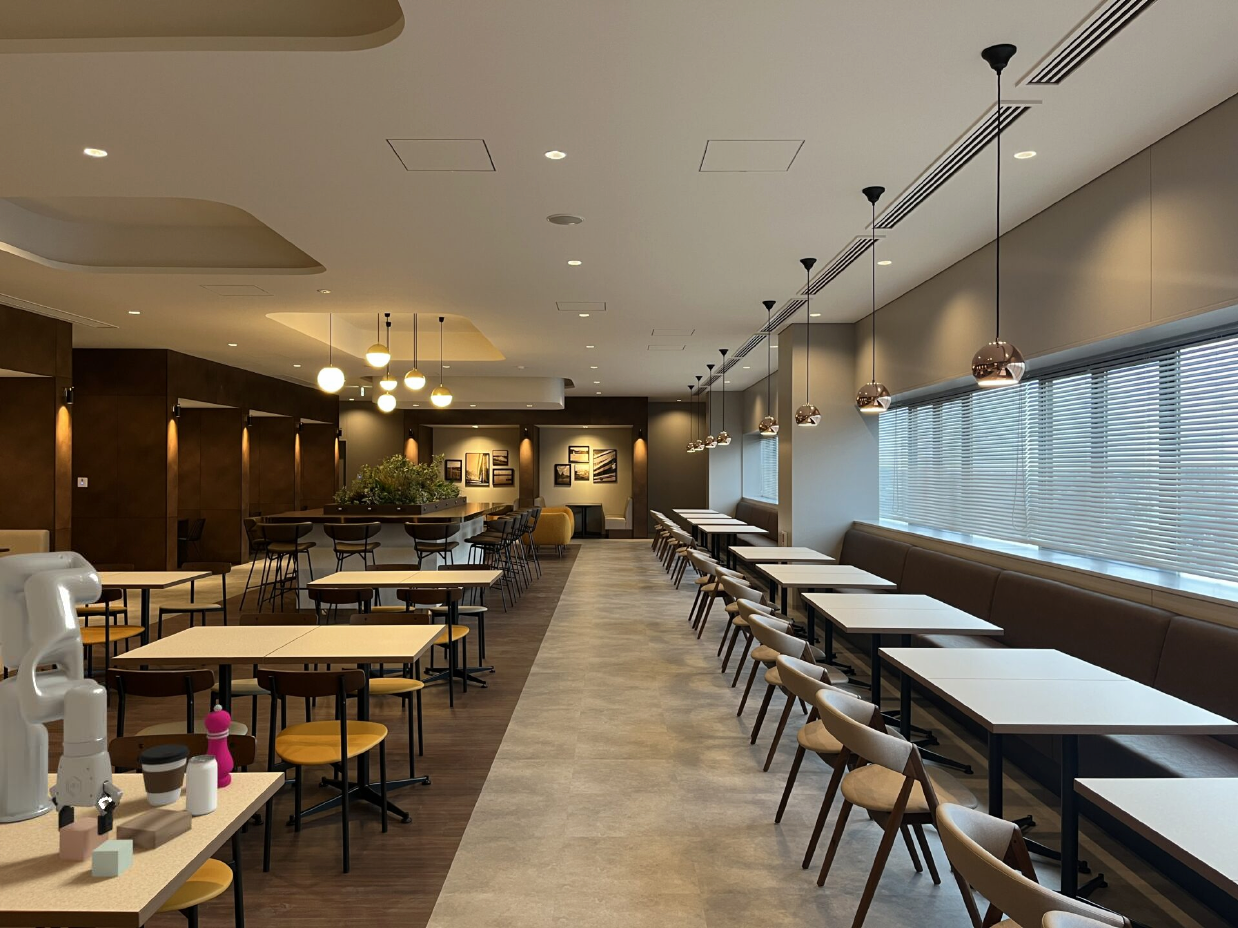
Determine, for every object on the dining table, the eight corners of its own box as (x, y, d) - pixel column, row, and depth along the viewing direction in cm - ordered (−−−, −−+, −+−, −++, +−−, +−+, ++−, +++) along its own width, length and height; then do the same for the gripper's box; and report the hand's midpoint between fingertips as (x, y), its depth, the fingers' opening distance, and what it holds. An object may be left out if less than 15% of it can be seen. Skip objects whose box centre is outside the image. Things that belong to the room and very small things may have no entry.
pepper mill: (214, 778, 212) (215, 700, 212) (239, 780, 211) (239, 701, 211) (194, 788, 205) (195, 707, 205) (220, 790, 204) (220, 709, 204)
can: (204, 817, 188) (204, 764, 188) (179, 814, 189) (179, 762, 189) (223, 806, 194) (223, 754, 194) (199, 804, 195) (199, 753, 195)
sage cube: (91, 877, 160) (92, 851, 160) (107, 865, 165) (107, 839, 165) (118, 876, 160) (118, 850, 160) (132, 864, 165) (132, 839, 165)
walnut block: (116, 845, 174) (116, 826, 174) (153, 825, 184) (154, 807, 184) (155, 850, 172) (155, 831, 172) (191, 830, 181) (191, 812, 181)
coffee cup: (194, 801, 197) (195, 751, 197) (142, 813, 190) (143, 761, 190) (183, 788, 205) (184, 740, 205) (133, 799, 198) (134, 749, 198)
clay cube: (59, 858, 168) (59, 828, 168) (84, 845, 173) (85, 816, 174) (83, 861, 166) (83, 831, 166) (108, 848, 172) (108, 819, 172)
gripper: (34, 750, 168) (34, 835, 168) (105, 754, 164) (105, 841, 164) (67, 739, 176) (67, 820, 175) (135, 743, 172) (135, 826, 171)
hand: (85, 830), depth 170 cm, fingers open, 9 cm apart
